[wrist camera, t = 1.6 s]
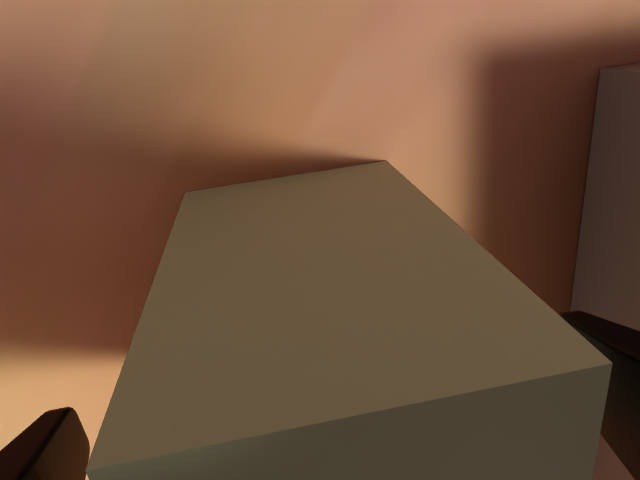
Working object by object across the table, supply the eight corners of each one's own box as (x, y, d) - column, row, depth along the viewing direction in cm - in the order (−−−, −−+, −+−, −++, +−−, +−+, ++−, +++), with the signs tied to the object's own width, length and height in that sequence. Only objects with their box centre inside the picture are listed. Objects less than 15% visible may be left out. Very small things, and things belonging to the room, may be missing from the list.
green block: (396, 325, 14) (562, 644, 7) (225, 357, 13) (207, 735, 6) (386, 160, 12) (612, 363, 5) (185, 192, 11) (85, 470, 4)
